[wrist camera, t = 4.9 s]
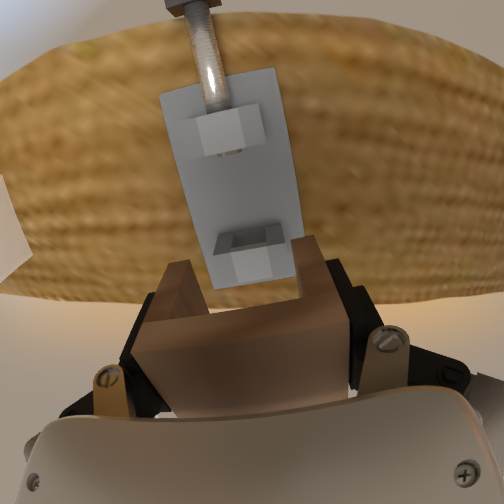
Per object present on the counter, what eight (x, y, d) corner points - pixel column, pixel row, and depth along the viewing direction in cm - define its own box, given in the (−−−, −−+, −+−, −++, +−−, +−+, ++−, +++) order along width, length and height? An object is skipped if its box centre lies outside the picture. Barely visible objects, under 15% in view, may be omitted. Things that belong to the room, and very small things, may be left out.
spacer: (313, 234, 12) (349, 320, 7) (321, 308, 14) (347, 399, 9) (168, 263, 13) (130, 352, 8) (196, 329, 15) (179, 419, 10)
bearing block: (273, 68, 21) (278, 59, 17) (308, 270, 30) (316, 297, 26) (160, 95, 22) (141, 93, 18) (214, 286, 31) (209, 314, 27)
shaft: (217, -13, 16) (213, -25, 14) (254, 146, 23) (254, 151, 21) (171, 0, 17) (162, -11, 14) (207, 156, 24) (202, 162, 21)
